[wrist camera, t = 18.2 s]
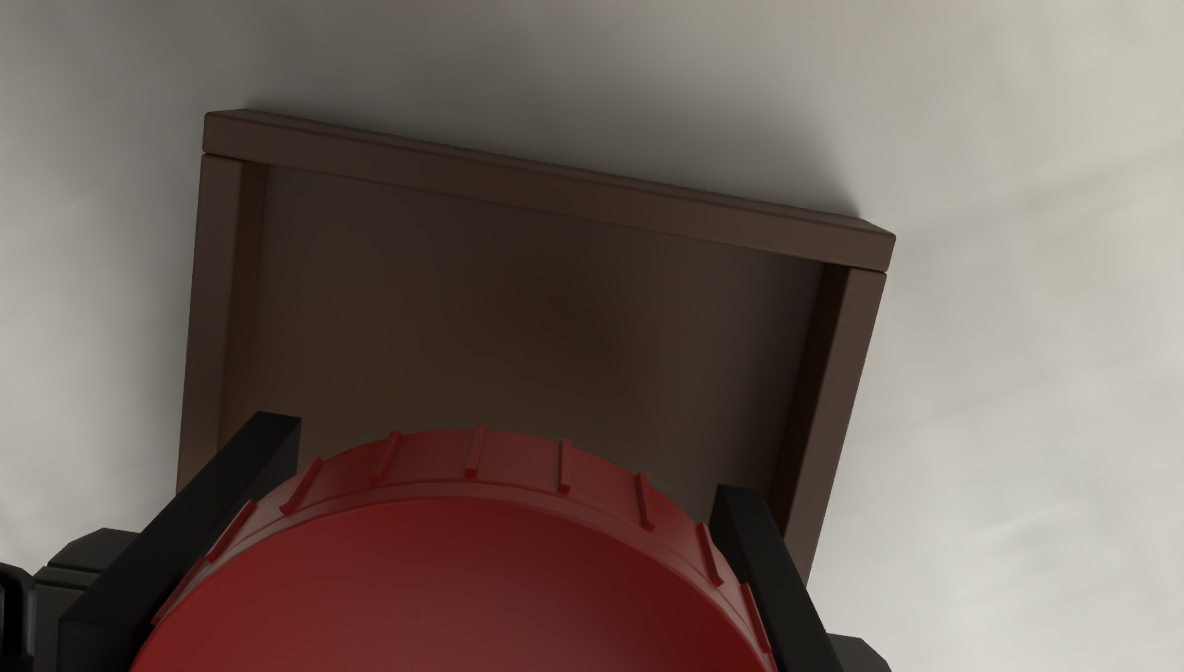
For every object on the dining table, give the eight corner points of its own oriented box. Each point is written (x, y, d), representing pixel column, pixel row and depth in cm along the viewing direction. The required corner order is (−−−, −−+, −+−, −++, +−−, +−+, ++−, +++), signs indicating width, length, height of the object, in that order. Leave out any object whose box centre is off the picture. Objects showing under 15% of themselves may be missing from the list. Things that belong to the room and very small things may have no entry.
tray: (243, 108, 18) (203, 111, 16) (864, 219, 19) (898, 235, 17) (194, 667, 21) (156, 727, 19) (733, 743, 22) (749, 807, 20)
